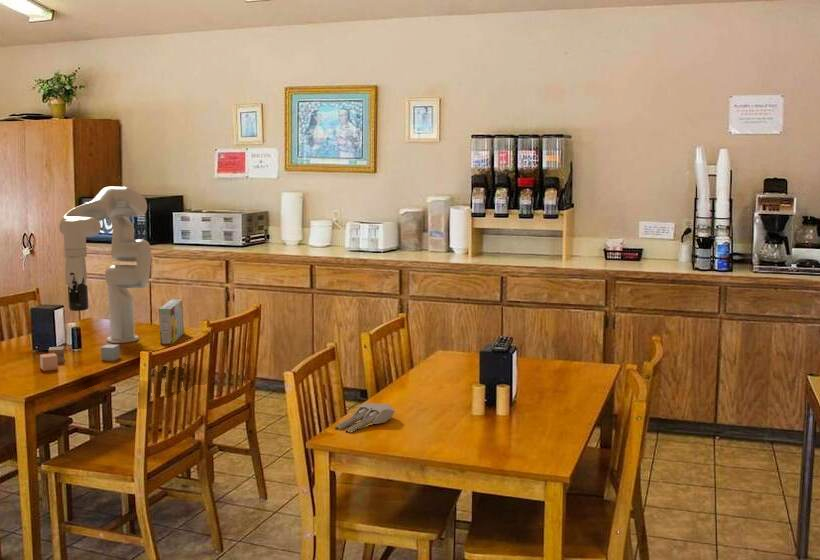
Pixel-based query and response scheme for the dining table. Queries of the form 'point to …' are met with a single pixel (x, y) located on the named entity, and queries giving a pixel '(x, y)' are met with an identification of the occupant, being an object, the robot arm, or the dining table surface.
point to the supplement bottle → (82, 296)
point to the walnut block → (58, 353)
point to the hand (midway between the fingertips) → (78, 300)
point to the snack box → (171, 321)
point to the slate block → (110, 352)
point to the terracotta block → (48, 361)
